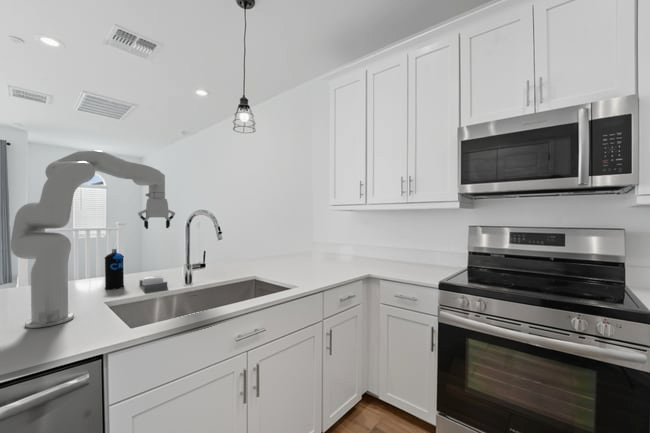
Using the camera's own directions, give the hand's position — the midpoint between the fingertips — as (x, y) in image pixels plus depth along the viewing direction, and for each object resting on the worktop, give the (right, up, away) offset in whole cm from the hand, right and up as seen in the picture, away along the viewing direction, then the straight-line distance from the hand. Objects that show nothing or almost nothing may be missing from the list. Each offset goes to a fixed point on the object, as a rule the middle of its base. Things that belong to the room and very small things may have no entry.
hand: (157, 228), depth 155 cm
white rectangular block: (+1, -28, -6) cm, 28 cm away
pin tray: (+1, -30, -5) cm, 31 cm away
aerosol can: (-20, -31, -4) cm, 37 cm away
